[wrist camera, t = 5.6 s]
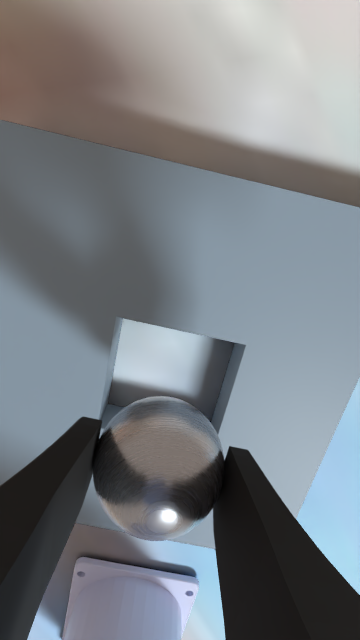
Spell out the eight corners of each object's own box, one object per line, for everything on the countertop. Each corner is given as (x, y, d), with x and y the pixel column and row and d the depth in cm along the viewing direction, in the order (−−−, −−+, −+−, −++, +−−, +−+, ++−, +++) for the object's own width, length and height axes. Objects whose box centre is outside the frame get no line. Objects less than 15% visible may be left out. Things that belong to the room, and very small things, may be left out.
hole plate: (268, 526, 19) (277, 560, 17) (3, 476, 18) (-18, 505, 16) (394, 223, 14) (427, 224, 12) (25, 133, 13) (-3, 118, 11)
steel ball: (192, 470, 13) (214, 581, 9) (92, 456, 12) (68, 571, 8) (224, 384, 11) (263, 471, 8) (114, 363, 11) (98, 448, 7)
